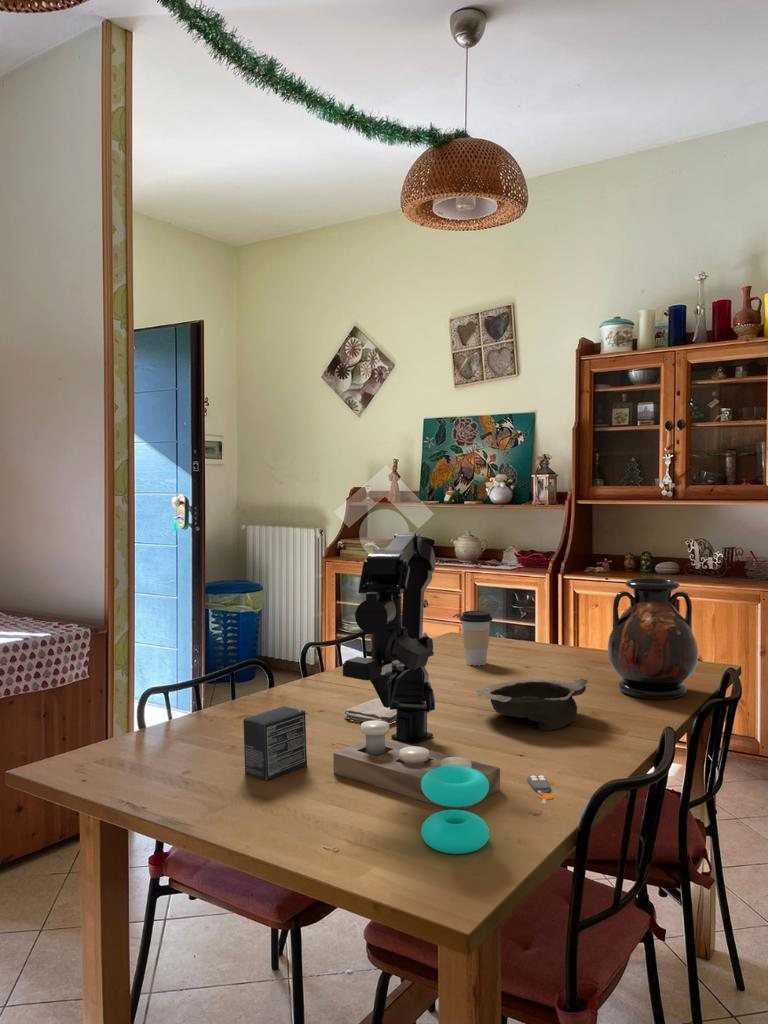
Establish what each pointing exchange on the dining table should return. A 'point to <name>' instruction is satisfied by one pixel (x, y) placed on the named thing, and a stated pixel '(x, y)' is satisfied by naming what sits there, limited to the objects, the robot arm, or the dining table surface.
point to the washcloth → (371, 712)
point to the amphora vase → (652, 641)
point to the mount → (400, 770)
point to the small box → (275, 742)
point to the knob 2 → (456, 762)
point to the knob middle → (414, 755)
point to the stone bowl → (537, 700)
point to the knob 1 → (375, 736)
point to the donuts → (455, 826)
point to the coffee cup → (476, 636)
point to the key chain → (540, 786)
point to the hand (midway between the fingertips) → (387, 707)
